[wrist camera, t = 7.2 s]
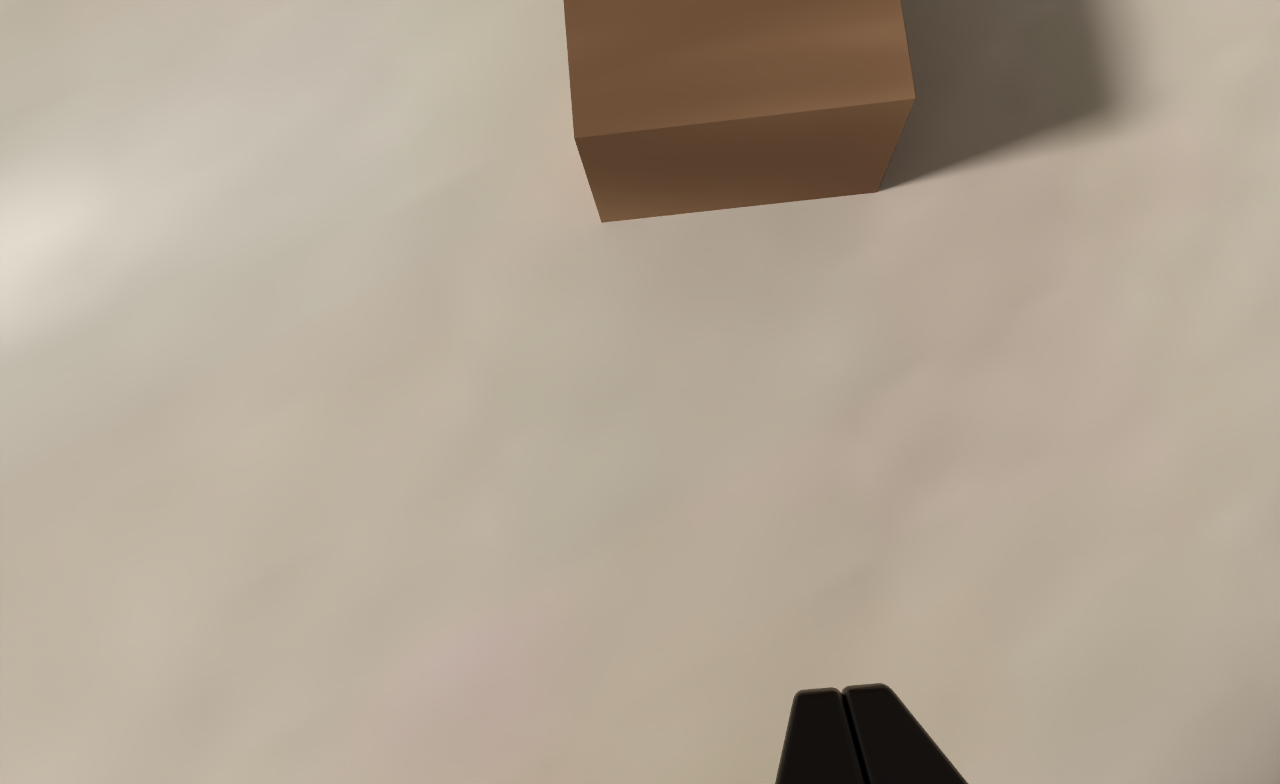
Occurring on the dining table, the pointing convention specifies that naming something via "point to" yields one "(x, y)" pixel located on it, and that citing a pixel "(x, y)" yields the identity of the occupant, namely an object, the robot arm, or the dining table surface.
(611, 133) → the walnut block
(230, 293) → the dining table surface
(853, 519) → the dining table surface
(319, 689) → the dining table surface
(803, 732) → the robot arm
